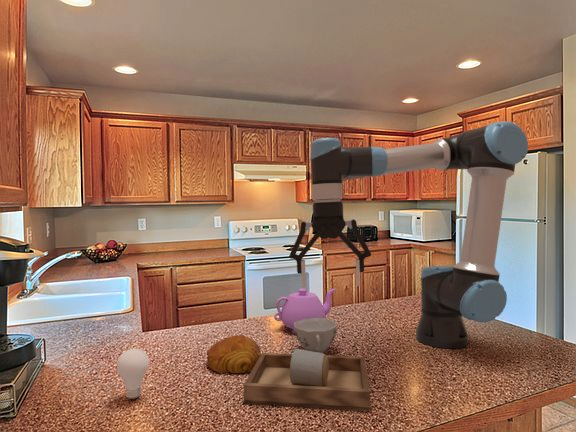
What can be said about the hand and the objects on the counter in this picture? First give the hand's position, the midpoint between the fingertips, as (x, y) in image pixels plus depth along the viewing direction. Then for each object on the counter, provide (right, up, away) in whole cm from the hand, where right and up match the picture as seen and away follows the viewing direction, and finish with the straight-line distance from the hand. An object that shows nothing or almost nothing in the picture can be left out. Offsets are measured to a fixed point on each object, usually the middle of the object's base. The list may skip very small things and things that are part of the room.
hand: (331, 285), depth 97 cm
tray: (-6, -22, -7) cm, 24 cm away
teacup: (-3, -22, +14) cm, 26 cm away
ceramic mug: (-6, -22, -6) cm, 23 cm away
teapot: (-5, -22, +36) cm, 42 cm away
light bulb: (-45, -23, -12) cm, 52 cm away
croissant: (-25, -23, +7) cm, 35 cm away
